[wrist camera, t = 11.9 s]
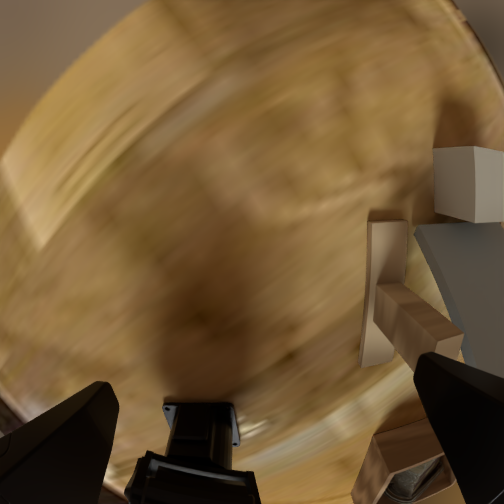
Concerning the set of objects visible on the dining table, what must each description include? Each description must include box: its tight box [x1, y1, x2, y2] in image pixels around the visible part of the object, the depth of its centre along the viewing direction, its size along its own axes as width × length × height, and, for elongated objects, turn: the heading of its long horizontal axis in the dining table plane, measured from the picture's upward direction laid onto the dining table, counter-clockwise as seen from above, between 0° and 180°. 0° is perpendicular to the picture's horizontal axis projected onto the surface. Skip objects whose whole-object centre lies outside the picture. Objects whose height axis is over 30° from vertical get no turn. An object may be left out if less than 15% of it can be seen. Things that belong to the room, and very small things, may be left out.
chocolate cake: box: [384, 456, 444, 504], centre depth 27 cm, size 10×7×12 cm
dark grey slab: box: [414, 222, 504, 378], centre depth 16 cm, size 14×10×5 cm
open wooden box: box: [351, 418, 456, 504], centre depth 24 cm, size 16×16×6 cm
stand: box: [358, 219, 504, 372], centre depth 16 cm, size 12×18×9 cm
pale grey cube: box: [433, 146, 504, 223], centre depth 16 cm, size 5×5×5 cm
